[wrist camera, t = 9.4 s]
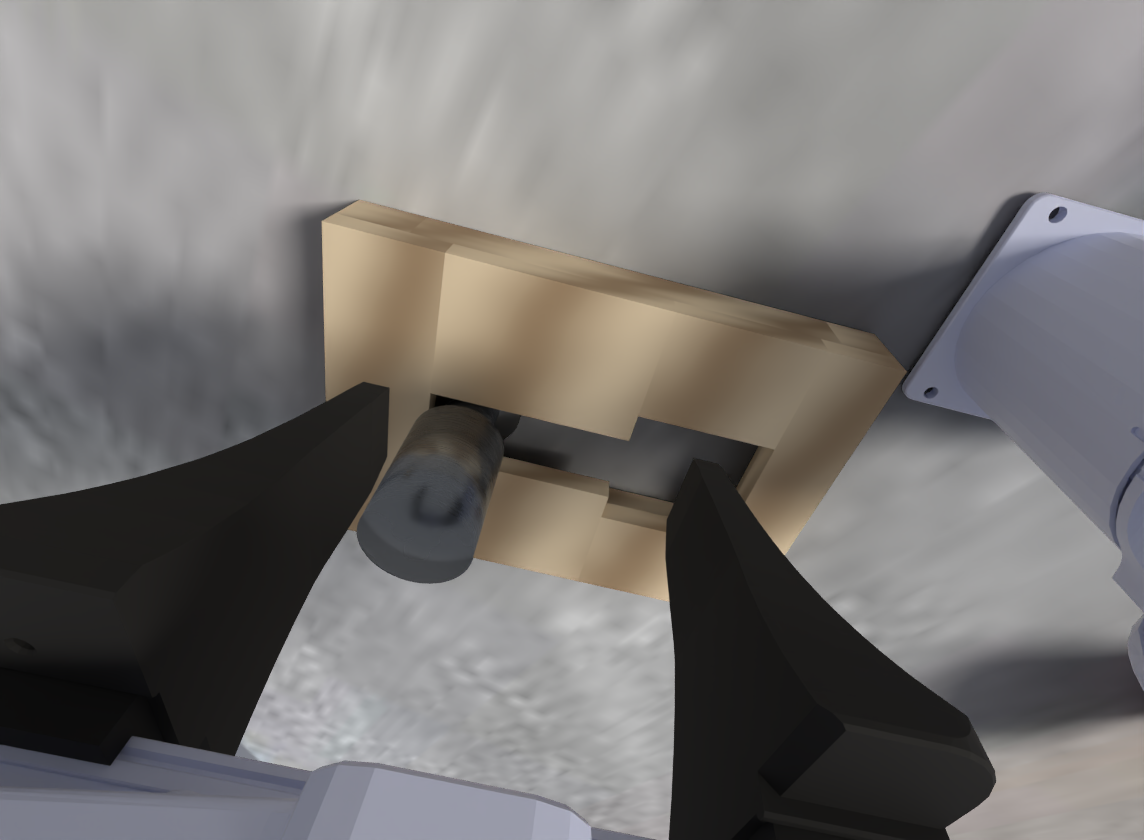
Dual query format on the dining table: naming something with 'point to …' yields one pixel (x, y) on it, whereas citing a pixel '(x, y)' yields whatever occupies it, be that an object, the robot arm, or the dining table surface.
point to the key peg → (436, 492)
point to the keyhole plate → (591, 380)
